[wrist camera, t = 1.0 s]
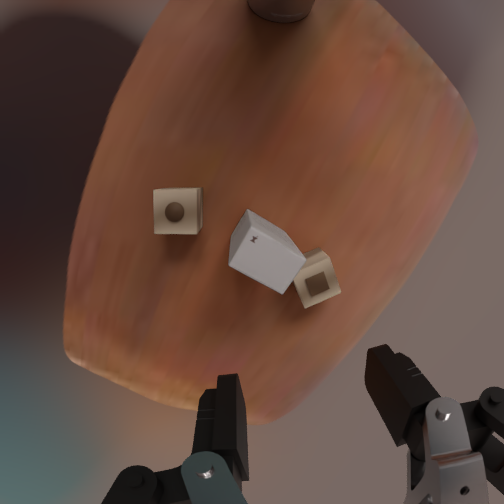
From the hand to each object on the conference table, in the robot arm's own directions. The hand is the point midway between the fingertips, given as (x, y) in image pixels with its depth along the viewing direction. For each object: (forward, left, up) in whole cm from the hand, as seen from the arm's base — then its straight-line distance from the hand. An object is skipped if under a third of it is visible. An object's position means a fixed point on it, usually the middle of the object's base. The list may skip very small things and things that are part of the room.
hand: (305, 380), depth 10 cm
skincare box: (0, 0, -28) cm, 28 cm away
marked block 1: (-5, -9, -28) cm, 29 cm away
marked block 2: (+6, +6, -28) cm, 29 cm away
